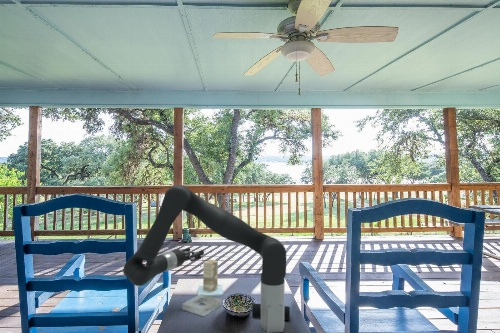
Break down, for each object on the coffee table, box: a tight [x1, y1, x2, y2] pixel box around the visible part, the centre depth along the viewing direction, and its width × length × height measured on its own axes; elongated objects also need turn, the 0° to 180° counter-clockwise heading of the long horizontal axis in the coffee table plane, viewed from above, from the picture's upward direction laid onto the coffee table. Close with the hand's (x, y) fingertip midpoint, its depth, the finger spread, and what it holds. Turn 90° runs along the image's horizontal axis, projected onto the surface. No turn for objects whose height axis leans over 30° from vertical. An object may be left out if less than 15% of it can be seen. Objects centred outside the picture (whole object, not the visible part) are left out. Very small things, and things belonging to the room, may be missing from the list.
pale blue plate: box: [197, 284, 224, 297], centre depth 144 cm, size 12×12×1 cm
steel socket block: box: [181, 294, 222, 317], centre depth 126 cm, size 12×12×2 cm
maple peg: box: [202, 259, 219, 292], centre depth 144 cm, size 5×5×14 cm
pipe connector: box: [251, 303, 291, 321], centre depth 121 cm, size 12×5×15 cm
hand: (196, 251), depth 135 cm, fingers open, 8 cm apart
